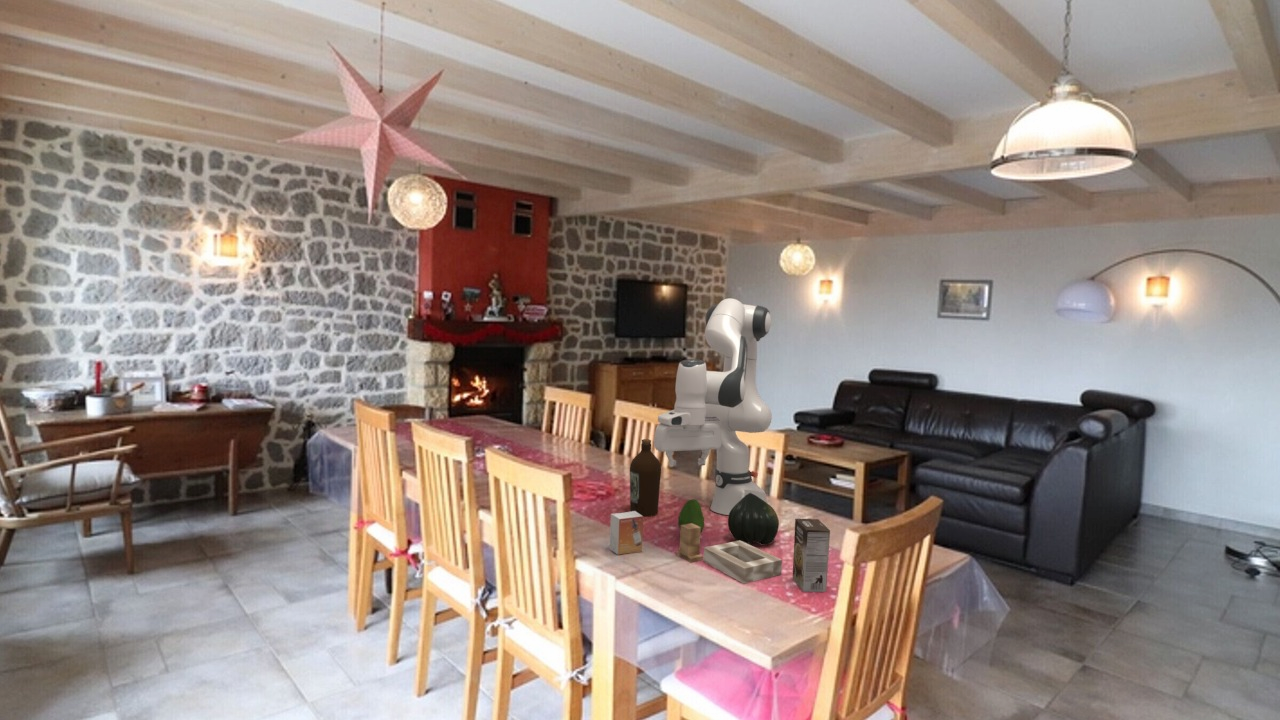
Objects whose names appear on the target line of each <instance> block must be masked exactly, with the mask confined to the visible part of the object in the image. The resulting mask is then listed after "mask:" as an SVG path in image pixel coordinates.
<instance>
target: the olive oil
mask: <svg viewBox="0 0 1280 720" xmlns="http://www.w3.org/2000/svg"><path fill="white" fill-rule="evenodd" d="M640 449H641V450H640V451H639V452H638V454H637V455H636V456H634V458H632V460H631V462H630V466H629V490H630V491H629V492H630V493H629V496H630V497H629V499H630V503H629V505H630V506H629V512H632V511H636V512H637V513H639V514H641V515H642V516H643V518H645V517H646V518H647V517H654V516H656V515H657V514H658V513H659V503H660V502H659V501H660V500H659V499H660V488H661V487H660V486H661V478H662V477H661V476H662V465H661V462H660V460H659V459H658V458H657V456H656V455H655V454H654V453H653V452H652V440H651V439H648V438H647V439H646V438H644V439H641V447H640Z"/></svg>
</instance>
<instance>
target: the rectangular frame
mask: <svg viewBox="0 0 1280 720" xmlns="http://www.w3.org/2000/svg"><path fill="white" fill-rule="evenodd" d="M702 562H703V563H705V564H707V565H709V566H710V567H712V568H714V569H716V570H718V571H719V572H721V573H724V574H725V575H727V576H729V577H731V578H733V579H734V580H736V581H738V582H740V583H741V584H748V583H751V582H752V583H753V582H757V581H761V580H764V579H769V578H772V577H777V576H781V575H782V571H783V570H782V568H783V567H782V565H783V560H782V559H781V558H779V557H777V556H775V555H772V553H771V554H770V553H768V552H767V551H764V550H761V549H759V548H758V547H755V546H753V545H751V544H750V543H745V542H743V541H740V540H739V541H737V540H735V541H731V542H725V543H720V544H716V545H710V546H706V547H704V548H703V560H702Z"/></svg>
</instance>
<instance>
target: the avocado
mask: <svg viewBox="0 0 1280 720" xmlns="http://www.w3.org/2000/svg"><path fill="white" fill-rule="evenodd" d="M677 520H678V522H677V526H678V529H679V530H680V528H681V525H685V524H690V523H693V524H695V525H697V526H699V527H701V530H700V535H701V534H702V533H703V530H704V527H705V517H704V514H703V509H702V506H701V503H700V502H699V501H698V499H688V500H687V501H686V502H685V503H684V505H683V506H682V508H681V510H680V513H679V515H678V519H677Z"/></svg>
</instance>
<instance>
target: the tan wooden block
mask: <svg viewBox="0 0 1280 720" xmlns="http://www.w3.org/2000/svg"><path fill="white" fill-rule="evenodd" d="M700 530H701V527H699V526H697V525H695V524H693V523H690V524H685V525H681V528H680V529H679V533H680V535H679V549H677V550H676V553H675V554H676V555H675V556H678V557H680V558H682V559H684V560H685V561H687V562H689V563H690V564H692V563H698V562H700V561H701V562H703V559H704V555H701V554H700V551H701V549H700V548H701V534H700Z"/></svg>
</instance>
